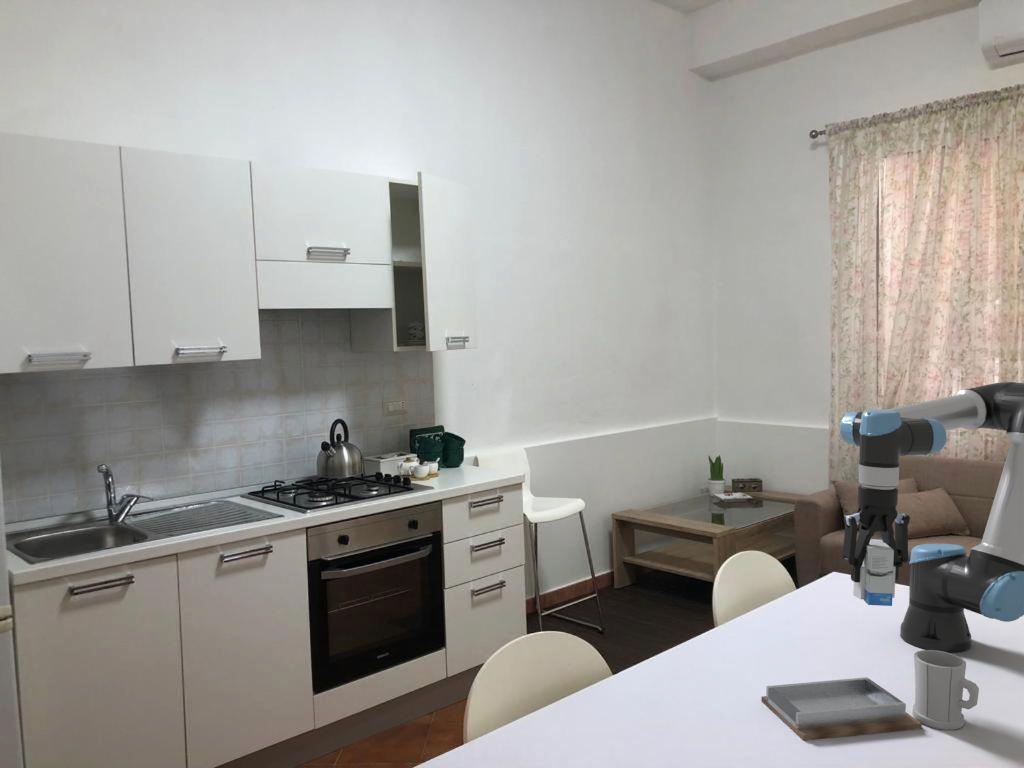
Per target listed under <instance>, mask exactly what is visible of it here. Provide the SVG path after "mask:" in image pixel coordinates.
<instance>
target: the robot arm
mask: <svg viewBox="0 0 1024 768" xmlns="http://www.w3.org/2000/svg"><path fill="white" fill-rule="evenodd" d="M960 428H961V429H964V430H970V431H971V430H976V429H988V430H997V431H1005V436H1006V439H1007V440H1008V441H1009V442H1010V443H1009V448H1008V453H1007V455H1006V459H1005V463H1004V465H1003V469H1002V472H1001V474H1000V479H999V482H998V486H997V487H996V488H997V489H996V491H995V495H994V499H993V503H992V505H991V509H990V512H989V515H988V518H987V519H988V520H987V523H986V525H985V530H984V533H983V535H982V539H981V542H980V543H979V544H977V545H976V546H973V547H971V548H970V552H969V555H968V556H967V550H966V547H965V546H963V545H960V544H953V543H924V544H919V545H915V546H914V547H913V548H912V549H911V551H910V552H911V553H910V561H909V530H908V529H909V528H908V527H909V523H910V520H911V516H909V515H908V514H905V513H901V512H898V510H897V506H898V501H899V500H898V499H899V490H898V488H897V486H899V484H900V483H899V482H900V481H899V480H900V477H899V476H900V457H902V456H921V455H923V456H927V455H933V454H937V453H939V452H940V451H941V450H943V449H944V447H945V445H946V443H947V431H951V430H955V429H960ZM839 434H840V437H841V438H842V439H843V440H842V441H844V442H845V443H847V444H850V445H853V446H854V445H855V446H856V447H859V455H858V456H859V457H858V458H859V459H858V463H859V464H858V483H859V484H860V485H859V486H858V487H857V502H858V507H857V510H856V512H855V513H853V514H850V515H849V514H844V515H843V521H844V526H845V527H844V528H845V529H844V538H843V547H842V559H841V560H842V562H844V563H846V564H848V565H850V568H851V569H850V580H851V581H852V582H853V594H852V595H853V596H854V597H856V598H857V599H859V600H863V599H864V596H865V570H866V568H865V567H862V564H863V561H864V558H865V555H866V549H867V546H866V545H869V543H870V540H871V539H872V537H874V535H875V533H876V532H879V534H880V535H881V540H883V542H884V543H886V544H887V545H888V546H890V547H891V548H892V549H893V550H894V561H893V593H892V599H894V598H895V591H896V589H895V587H896V581H898V580H899V568H902V567H903V563H908V562H909V586H908V587H909V590H908V591H909V592H908V593H909V595H908V596H909V599H908V600H909V601H908V607H907V609H906V613H905V615H904V617H903V621H902V622H901V624H900V626H899V627H900V631H899V634H900V635H899V636H900V638H901V639H902V640H903V641H904V642H906V643H907V644H910V645H912V646H915V647H918V648H922V649H924V650H937V651H943V652H947V653H958V652H964V651H967V650H969V649H971V647H972V634H971V631H970V628H969V625H968V622H967V619H966V615H965V610H967V611H970V612H972V613H976V614H978V615H981V616H983V617H986V618H988V619H991V620H997V621H1000V622H1004V623H1009V622H1014V621H1017V620H1019V619H1020V618H1021V617H1024V382H1014V381H1002V382H994V383H990V384H984V385H980V386H975V387H970V388H965V389H960V390H958V391H956V393H954V394H953V395H952V396H948V397H947V396H946V397H941V398H937V399H932V400H928V401H923V402H922V401H921V402H917V403H912V404H907V405H903V406H897V407H893V408H888V409H883V410H882V409H868V410H865V411H863V412H862V411H850V412H848V413H846V414H845V415H844V416H843V417H842V419H841V421H840V423H839ZM859 521H860V523H859ZM893 524H894V526H893ZM858 525H859V528H858ZM858 532H859V533H858Z"/></svg>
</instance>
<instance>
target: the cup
mask: <svg viewBox="0 0 1024 768" xmlns="http://www.w3.org/2000/svg"><path fill="white" fill-rule="evenodd" d="M913 661H914V679H915V681H914V683H915V684H914V685H915V687H914V689H915V698H914V702H915V703H914V704H913V706H912V717H913V718H915V719H916V720H918V721H919V722H921V723H922V725H925V726H927V727H930V728H932V729H938V730H944V731H953V730H955V731H956V730H958V729H960V728H962V727H963V726H964V724H965V715H964V713H962V709H965V710H970V709H973V708H974V707H976V706H977V705H978V701H979V700H978V699H979V692H980V688H979V686H978V685H977V684H976V682H973V681H971V680H970V679H967V678H965V676H966V669H967V662H966V661H965V660H964V659H963V658H962V657H961V656H959V655H957V654H953V653H952V652H943V651H937V650H929V649H924V650H923V649H922V650H918V651H916V652H914V654H913ZM964 689H966V690H967V692H968V694H969V696H968V700H964V699H963V696H964V695H963V694H964V693H963V692H964Z"/></svg>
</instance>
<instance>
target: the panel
mask: <svg viewBox="0 0 1024 768" xmlns="http://www.w3.org/2000/svg"><path fill="white" fill-rule="evenodd" d="M760 700H761V703H762V704H764V705H765V707H766V708H768V709H769V710H770V711H771V712H772V713H773V714H774V715H776V717H778V718H779V719H780V720H781V721H782V722H783V723H784V724H785V725H786V726H787V727H788V728H789V729H790V730H792V731H793V732H794V733H795V734H796V735H797V736H798V737H799V738H800V739H801V740H802V741H804V742H805V741H812V740H822V739H832V738H842V737H850V736H860V735H869V734H870V735H872V734H881V733H883V734H884V733H891V732H901V731H908V730H909V731H912V730H918V729H919V730H921V729H922V726H923V724H922V723H921V722H919V721H918V720H916V719H915V717H914V716H913V715H912V714H909V713H908V712H906V715H905V720H895V721H884V722H874V723H864V724H854V725H844V726H834V727H824V728H814V729H804V730H797V729H796V728H795V727H794V726H793V725H792V724H791V723H790V722H789V721H788V720H786V719H785V718H784V717H783V716H782V715H781V714H780V713H779V712H778V711H777V710H776V709H775V708H773V707H772V706H771V705H770V704H769V703H768V702H767V701H766V695H764V696H761V699H760Z"/></svg>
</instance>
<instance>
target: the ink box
mask: <svg viewBox="0 0 1024 768" xmlns="http://www.w3.org/2000/svg"><path fill="white" fill-rule="evenodd" d="M866 546H867V549H866V555H865V558H864V561H863V564H862V567H865V568H866V570H865V596H864V599H862V600H863V601H864V602H865V603H866V604H867V605H868V606H885V607H892V606H893V598H892V593H893V561H894V550H893V549H892V548H891V547H890V546H888V545H887V544H886V543H884V542H883V540H882V539H877V538H876V539H873V538H871V540H870V543H869V545H866Z"/></svg>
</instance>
